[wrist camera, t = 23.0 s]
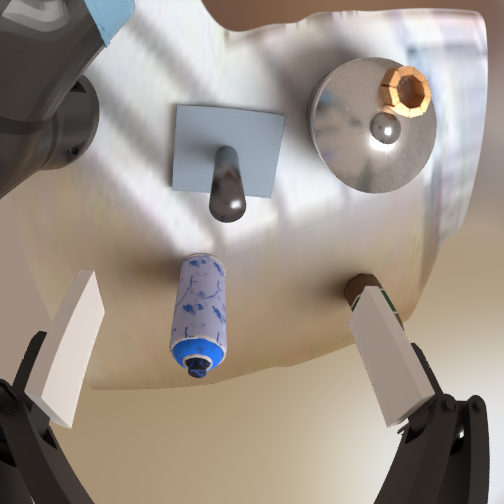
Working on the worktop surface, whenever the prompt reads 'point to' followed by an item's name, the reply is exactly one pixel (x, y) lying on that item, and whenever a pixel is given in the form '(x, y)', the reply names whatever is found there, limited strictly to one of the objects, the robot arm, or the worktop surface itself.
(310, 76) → the worktop surface
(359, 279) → the beer bottle
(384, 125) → the disc
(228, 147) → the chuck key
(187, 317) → the aerosol can
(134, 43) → the worktop surface
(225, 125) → the plate
